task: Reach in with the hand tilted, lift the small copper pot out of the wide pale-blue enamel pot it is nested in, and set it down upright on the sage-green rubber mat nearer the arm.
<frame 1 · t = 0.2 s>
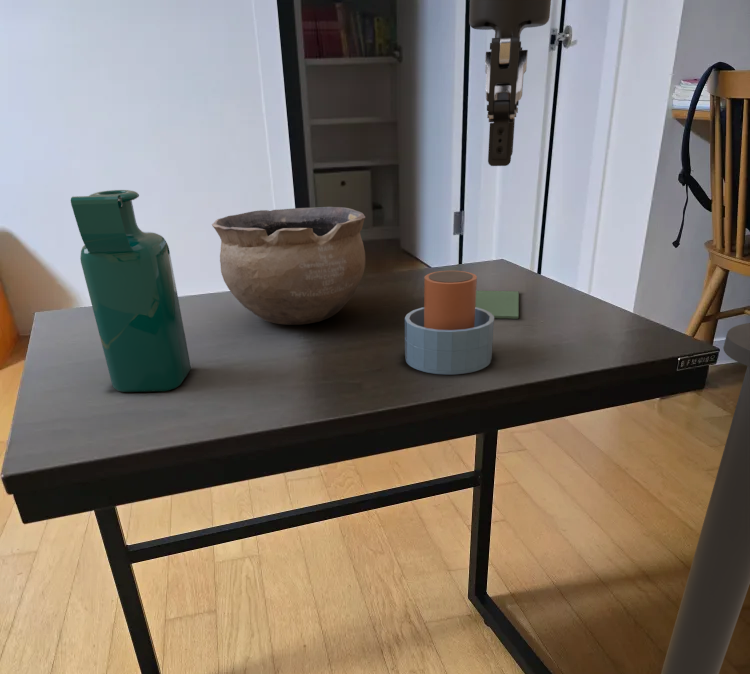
hand: (500, 161, 70), 24 cm above the table, tool pointing down, fingers open, 8 cm apart
green detergent bottle: (152, 383, 84), on the table
mat: (474, 304, 108), on the table
small pot: (448, 355, 87), resting on big pot
big pot: (448, 358, 88), on the table, touching small pot
ceramic bowl: (298, 318, 105), on the table
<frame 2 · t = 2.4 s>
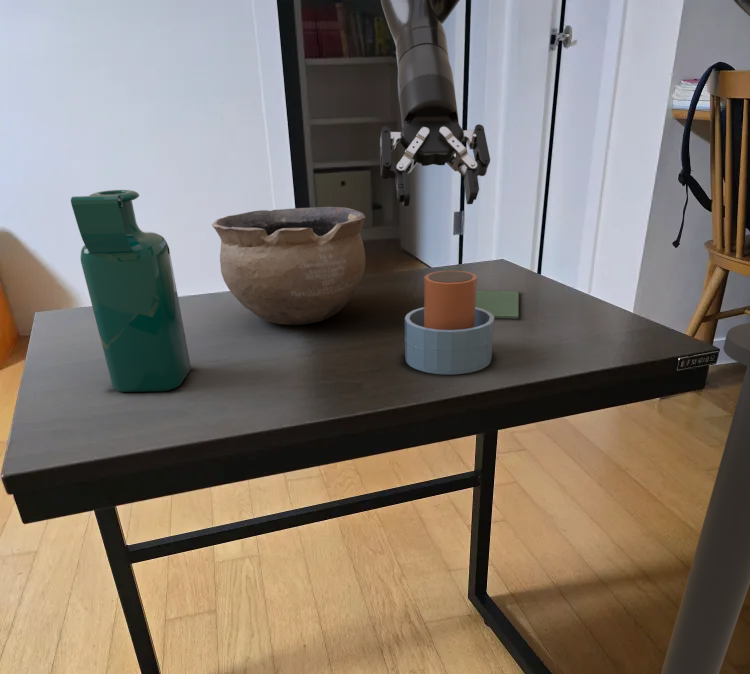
hand: (439, 201, 87), 18 cm above the table, tool tilted 45°, fingers open, 8 cm apart
nothing on the table moved.
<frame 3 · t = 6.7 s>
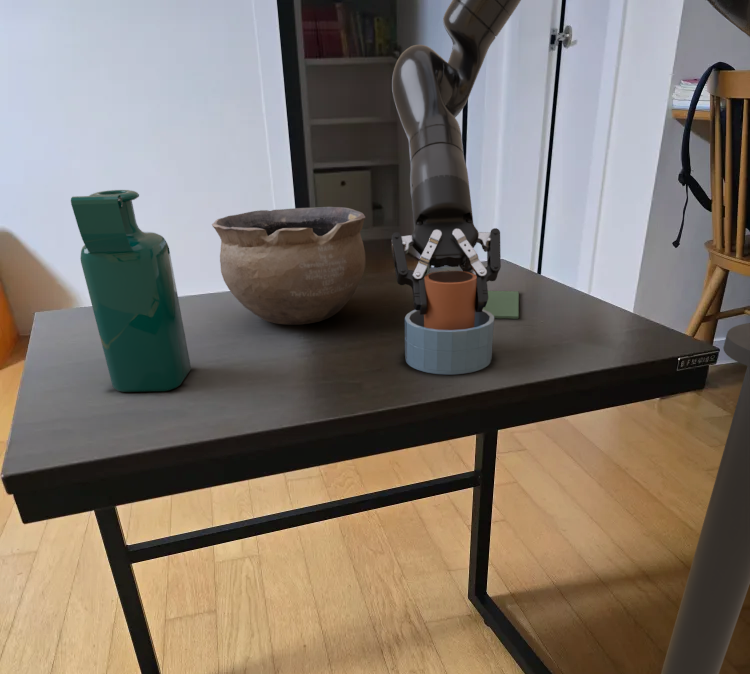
hand: (451, 310, 83), 7 cm above the table, tool tilted 45°, fingers closed on small pot, 6 cm apart
small pot: (448, 355, 87), point 1 cm above the table, touching big pot, gripper
everything else where it was.
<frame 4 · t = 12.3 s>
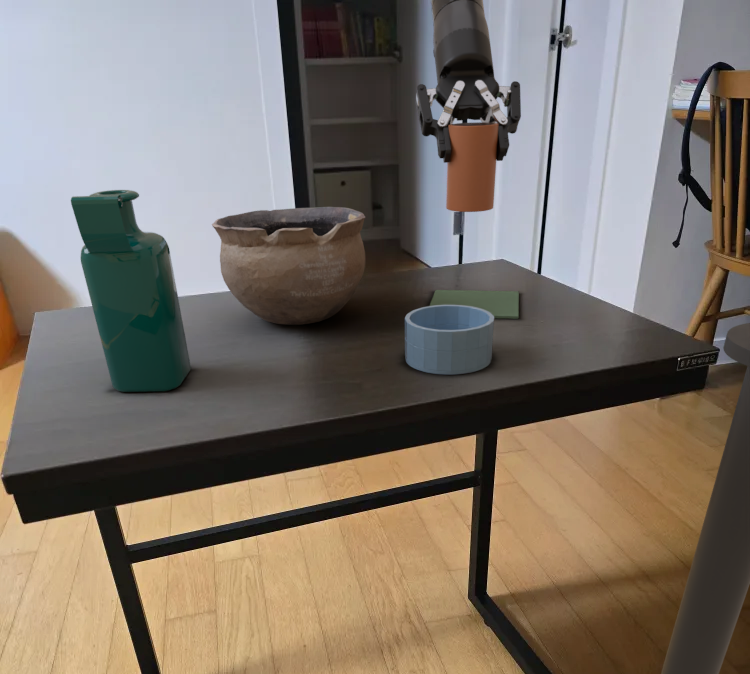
hand: (474, 157, 87), 22 cm above the table, tool tilted 45°, fingers closed on small pot, 6 cm apart
small pot: (469, 207, 92), point 16 cm above the table, touching gripper
big pot: (448, 358, 88), on the table
everything else where it was.
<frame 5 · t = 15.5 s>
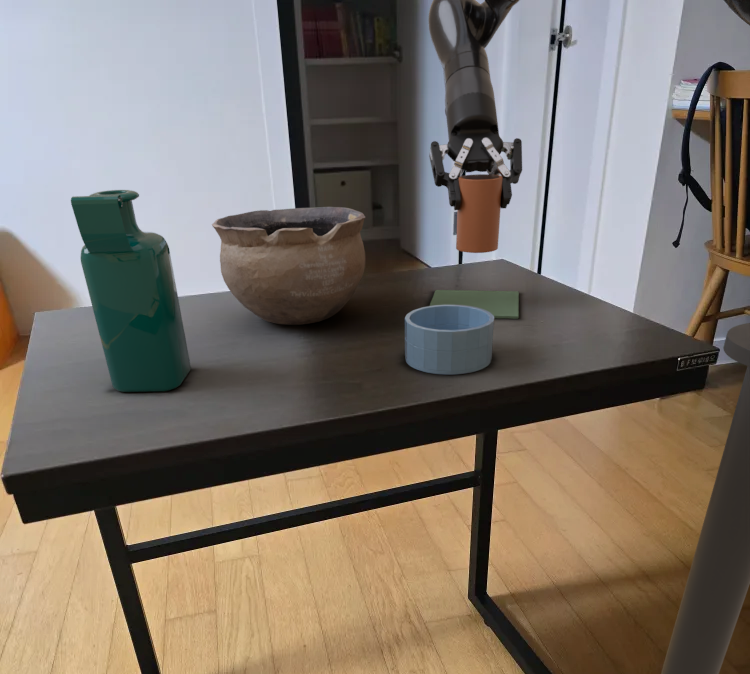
hand: (481, 205, 99), 15 cm above the table, tool tilted 45°, fingers closed on small pot, 6 cm apart
small pot: (476, 248, 104), point 9 cm above the table, touching gripper
everything else where it was.
when the fingers open (7 cm above the table, at t = 18.3 s): small pot stays where it is, resting on mat.
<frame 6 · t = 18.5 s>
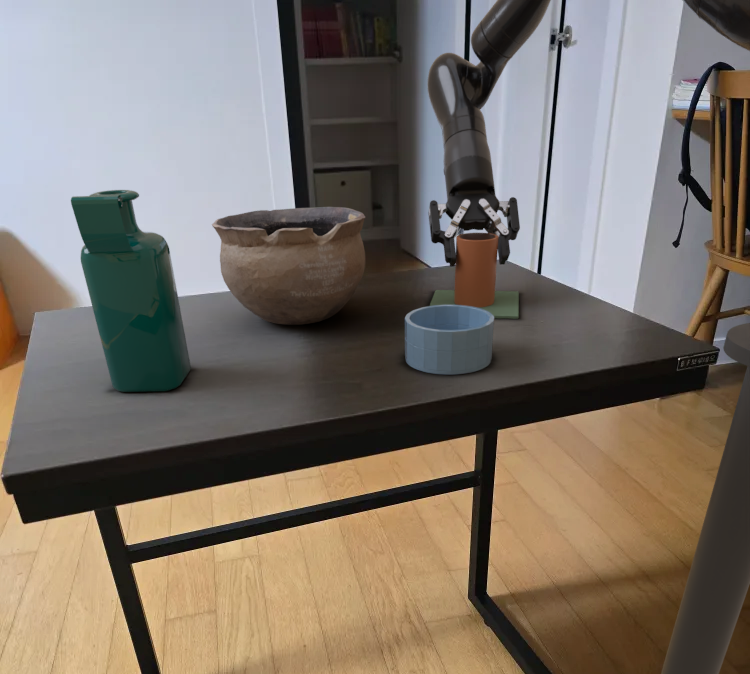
hand: (478, 262, 103), 7 cm above the table, tool tilted 45°, fingers open, 7 cm apart
small pot: (474, 301, 108), resting on mat
everything else where it was.
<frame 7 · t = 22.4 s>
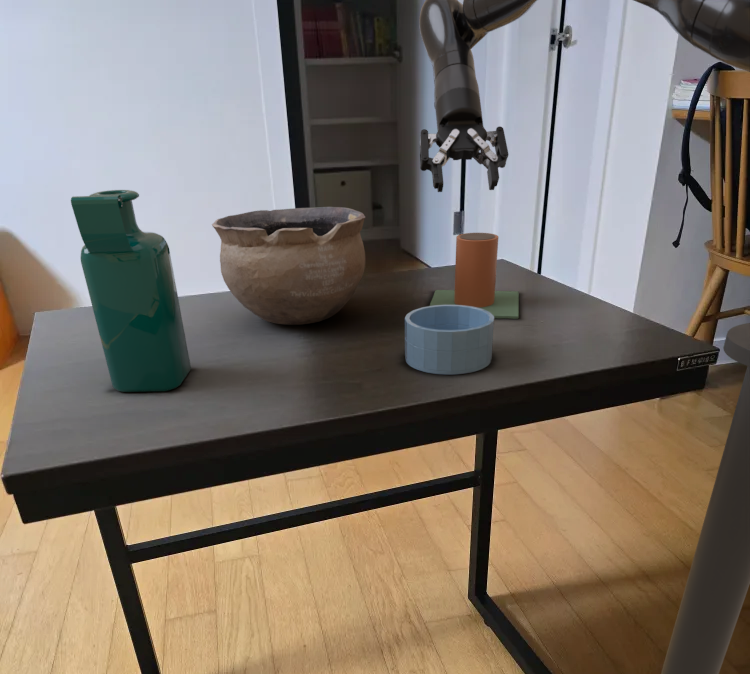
hand: (466, 187, 109), 16 cm above the table, tool tilted 45°, fingers open, 8 cm apart
nothing on the table moved.
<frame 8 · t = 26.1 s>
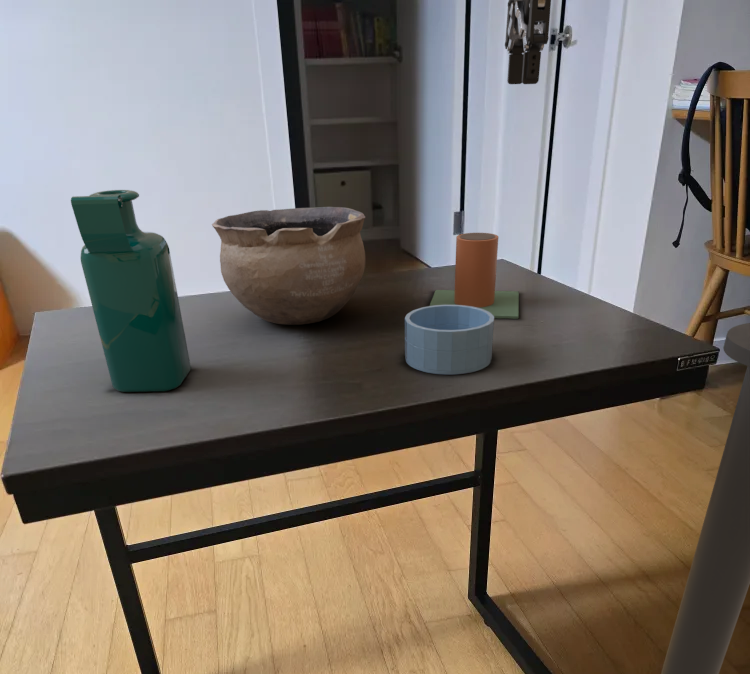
hand: (522, 84, 96), 30 cm above the table, tool pointing down, fingers open, 8 cm apart
nothing on the table moved.
at the end: small pot inside the target area on the mat (0.1 cm from its centre), point 0.4 cm above the mat's base; small pot tilted 0°; big pot moved 0.0 cm from its start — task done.
